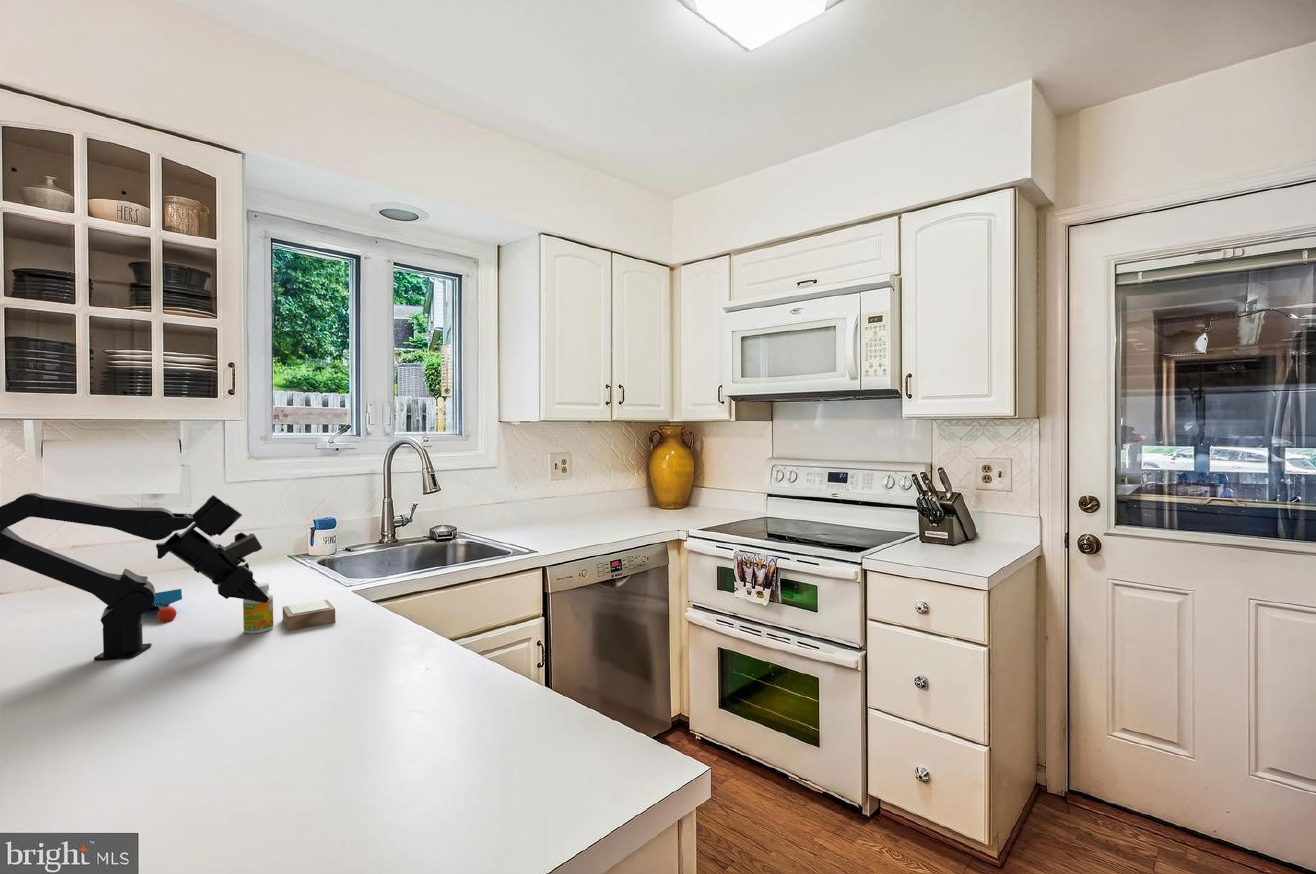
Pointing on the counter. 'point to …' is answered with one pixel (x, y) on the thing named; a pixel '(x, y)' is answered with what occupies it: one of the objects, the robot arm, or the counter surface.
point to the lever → (165, 599)
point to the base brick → (308, 614)
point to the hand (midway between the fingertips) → (265, 598)
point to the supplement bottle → (258, 613)
